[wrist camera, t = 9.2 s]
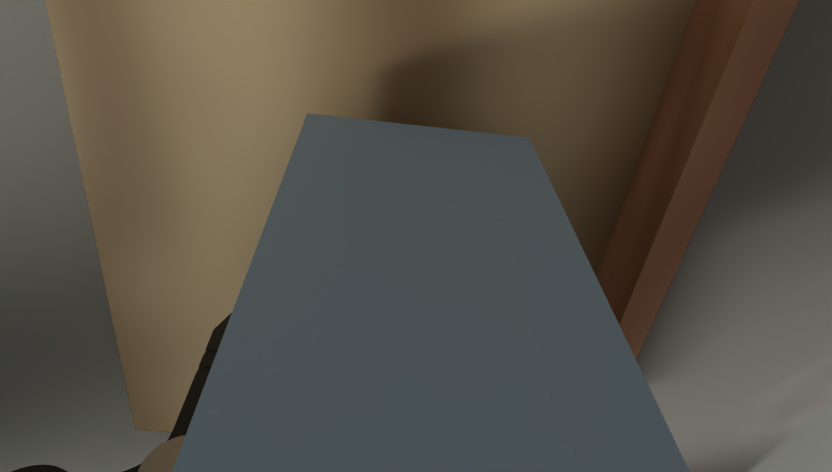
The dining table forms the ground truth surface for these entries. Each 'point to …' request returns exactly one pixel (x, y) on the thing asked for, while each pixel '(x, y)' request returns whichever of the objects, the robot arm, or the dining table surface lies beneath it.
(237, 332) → the carton
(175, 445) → the robot arm
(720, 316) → the dining table surface
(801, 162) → the dining table surface
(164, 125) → the wooden plank
